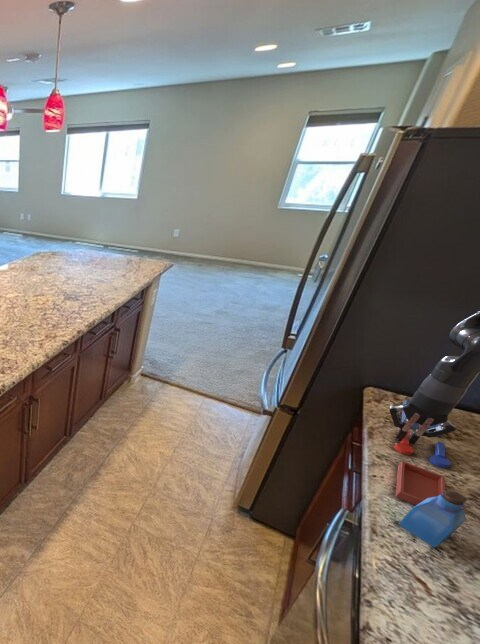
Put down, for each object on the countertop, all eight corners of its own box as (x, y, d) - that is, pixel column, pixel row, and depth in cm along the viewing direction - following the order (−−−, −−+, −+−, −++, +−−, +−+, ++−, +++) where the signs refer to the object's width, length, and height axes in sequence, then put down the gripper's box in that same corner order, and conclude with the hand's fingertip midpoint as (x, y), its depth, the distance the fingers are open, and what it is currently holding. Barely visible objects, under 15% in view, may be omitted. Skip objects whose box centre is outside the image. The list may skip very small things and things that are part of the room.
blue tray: (402, 403, 126) (406, 398, 125) (437, 414, 121) (441, 409, 120) (401, 424, 118) (404, 419, 117) (438, 436, 113) (442, 431, 112)
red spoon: (395, 431, 115) (398, 427, 114) (412, 437, 113) (415, 433, 112) (393, 450, 109) (396, 446, 108) (411, 457, 107) (414, 452, 106)
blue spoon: (428, 443, 111) (432, 439, 110) (447, 449, 109) (450, 445, 108) (429, 463, 104) (432, 459, 104) (448, 470, 102) (452, 466, 101)
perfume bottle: (412, 515, 91) (443, 480, 85) (448, 537, 86) (483, 502, 80) (398, 524, 89) (428, 489, 83) (434, 547, 84) (469, 512, 78)
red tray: (397, 465, 104) (401, 460, 103) (440, 481, 99) (444, 476, 98) (395, 497, 95) (399, 491, 94) (441, 516, 91) (446, 510, 90)
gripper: (476, 397, 101) (437, 446, 109) (403, 378, 109) (372, 424, 118) (479, 411, 96) (437, 460, 105) (402, 389, 105) (370, 436, 113)
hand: (403, 441), depth 111 cm, fingers closed on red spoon, 1 cm apart
